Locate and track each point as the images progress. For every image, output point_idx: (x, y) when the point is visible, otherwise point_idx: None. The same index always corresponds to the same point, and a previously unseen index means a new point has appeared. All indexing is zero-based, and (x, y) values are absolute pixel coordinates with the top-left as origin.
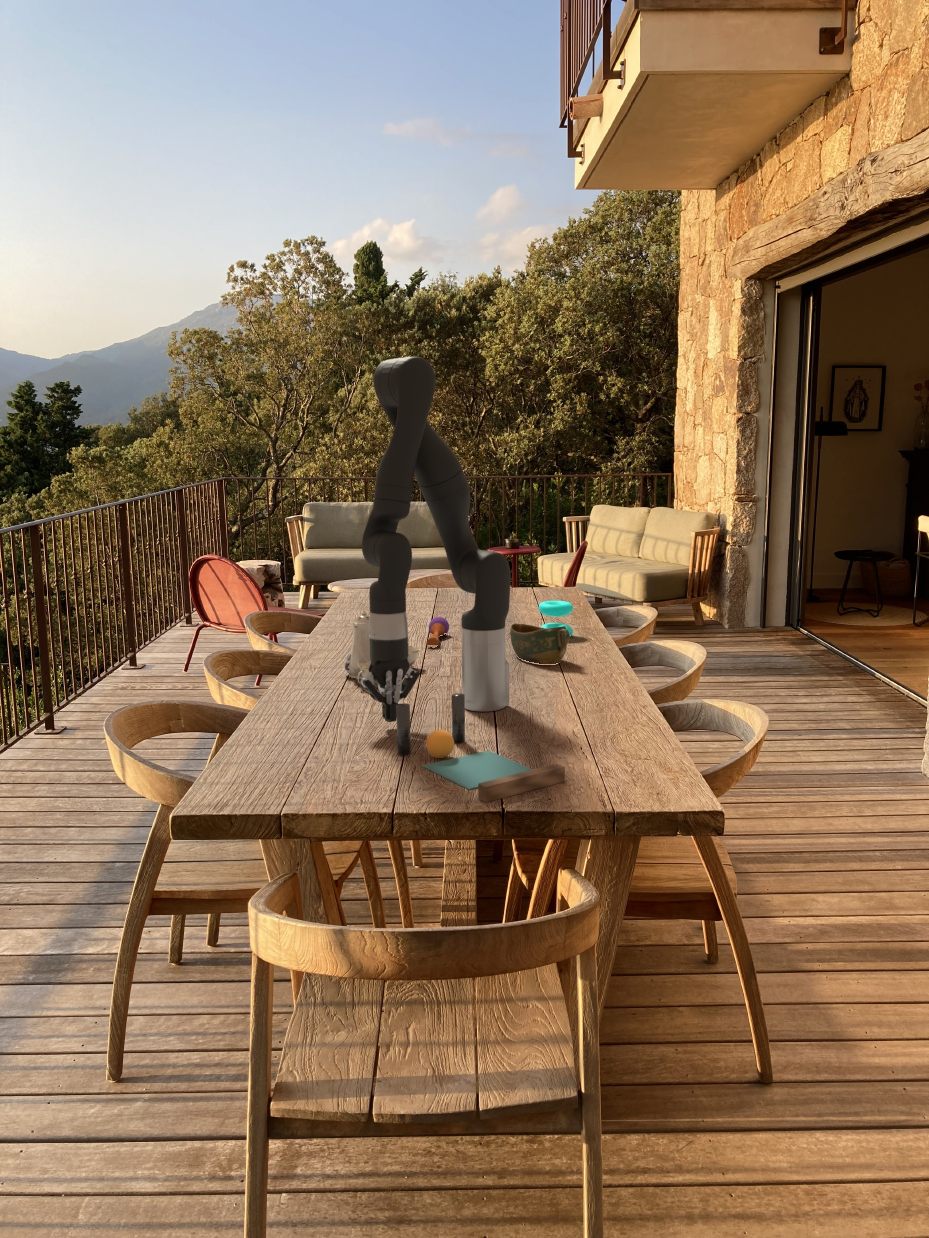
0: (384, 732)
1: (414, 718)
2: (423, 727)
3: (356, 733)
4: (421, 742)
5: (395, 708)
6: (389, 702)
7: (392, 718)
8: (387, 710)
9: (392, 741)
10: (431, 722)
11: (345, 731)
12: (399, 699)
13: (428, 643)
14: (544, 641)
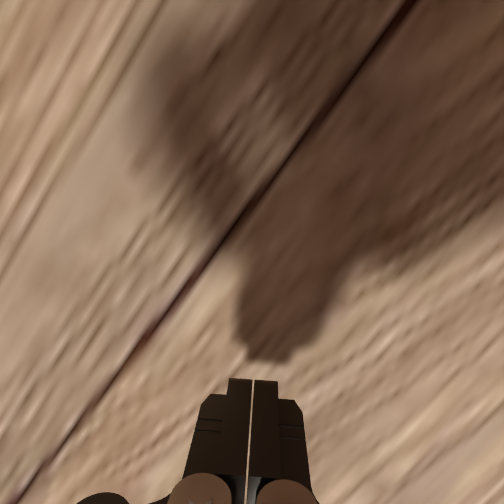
0: (326, 337)
1: (52, 430)
2: (90, 274)
3: (452, 413)
4: (274, 3)
5: (225, 439)
6: (291, 491)
7: (258, 389)
8: (291, 448)
9: (406, 159)
10: (4, 321)
11: (469, 471)
12: (170, 496)
13: None
14: None
